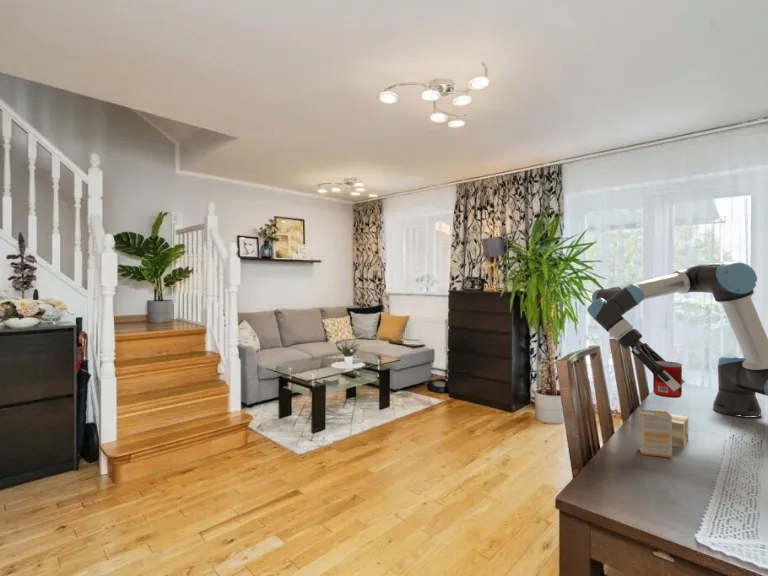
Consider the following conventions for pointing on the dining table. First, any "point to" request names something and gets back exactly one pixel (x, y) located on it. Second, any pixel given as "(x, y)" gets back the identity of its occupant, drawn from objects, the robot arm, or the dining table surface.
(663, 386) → the canned food
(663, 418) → the supplement box
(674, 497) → the dining table surface
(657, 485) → the dining table surface
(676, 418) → the beech block
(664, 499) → the dining table surface
